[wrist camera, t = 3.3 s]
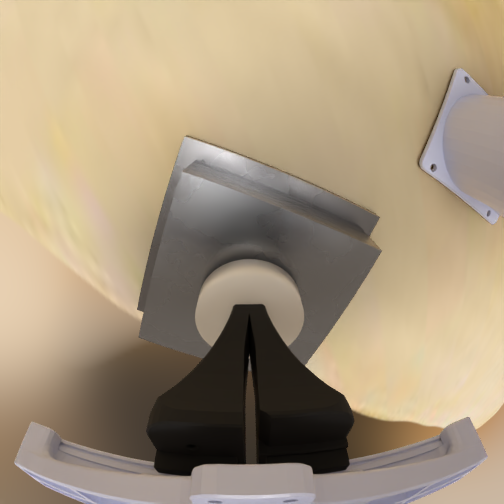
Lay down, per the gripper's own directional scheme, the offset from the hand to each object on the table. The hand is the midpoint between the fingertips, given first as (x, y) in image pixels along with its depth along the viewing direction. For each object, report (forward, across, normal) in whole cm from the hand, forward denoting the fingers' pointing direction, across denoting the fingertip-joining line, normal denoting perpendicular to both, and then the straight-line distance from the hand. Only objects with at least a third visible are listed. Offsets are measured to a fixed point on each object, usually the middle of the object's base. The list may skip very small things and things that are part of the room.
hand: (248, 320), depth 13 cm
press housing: (+6, 0, 0) cm, 6 cm away
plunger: (+5, 0, 0) cm, 5 cm away
